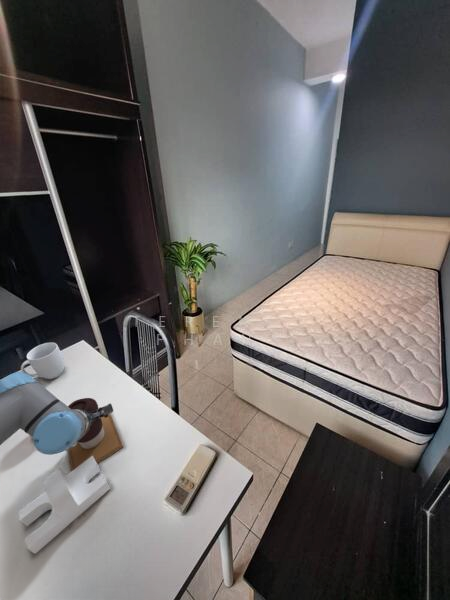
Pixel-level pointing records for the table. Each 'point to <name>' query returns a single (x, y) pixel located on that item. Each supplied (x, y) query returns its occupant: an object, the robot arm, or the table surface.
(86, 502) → the block with arch cutout
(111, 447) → the placemat
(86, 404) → the coffee cup
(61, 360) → the mug
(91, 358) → the table surface
